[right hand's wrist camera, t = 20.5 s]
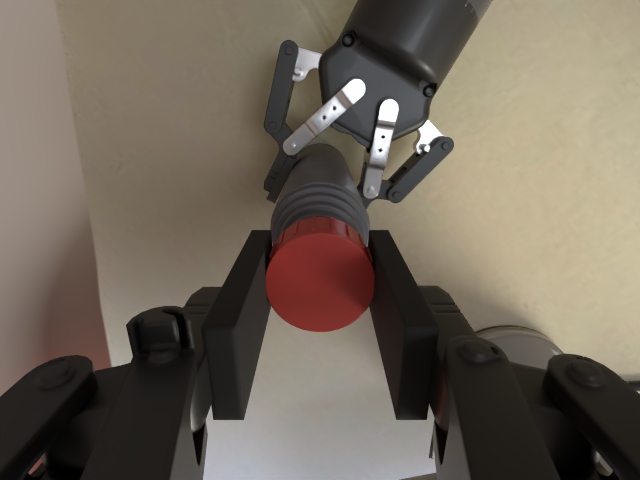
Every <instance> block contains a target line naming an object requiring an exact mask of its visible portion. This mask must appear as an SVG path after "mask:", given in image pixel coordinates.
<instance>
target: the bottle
mask: <svg viewBox="0 0 640 480" xmlns="http://www.w3.org/2000/svg"><path fill="white" fill-rule="evenodd" d="M313 216H315V217H327V218H330V217H332V218H333V219H336V220H339V221H342V222H344V223H348V225H349V226H350V227H352V228H353V229H354V230H355V231H356V232H357V233H358V234H359V233H360V234H361V237H362V239H363V241H364V243H365V245H366V247H367V244H368V238H369V230H370V224H369V218H368V214H367V211H366V209H365V206H364V204H363V202H362V199H361V197H360V195H359V192H358V190H357V188H356V185H355V183H354V180H353V178H352V176H351V173H350V171H349V169H348V166H347V164H346V162H345V159H344V157H343V156H342V154H341V153H340V152H339V151H338V150H337V149H335V148H334V147H332V146H330V145H326V144H314V145H311V146H308V147H307V148H305V149H304V150H302V151H301V152H300V153H299V155H298V159H297V161H296V163H295V165H294V167H293V169H292V171H291V172H290V174H289V176H288V179H287V181H286V184H285V186H284V188H283V191H282V193H281V195H280V198H279V200H278V202H277V205H276V207H275V210H274V212H273V215H272V219H271V233H272V242H273V244H274V243H276V241H277V240H278V238H279V237H280V235H281V234H282V231H283V230H284V231H285V230H286V229H287V228H289V227H290V226H291V225H293V224H295V223H296V221H298V222H299V221H301V220H304V219H308V218H313Z"/></svg>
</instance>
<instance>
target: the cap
mask: <svg viewBox="0 0 640 480" xmlns="http://www.w3.org/2000/svg"><path fill="white" fill-rule="evenodd" d="M269 259H270V260H269V263H268V267H267V270H266V291H267V298H268V300H269V302H270V304H271V306H272V308H273V309H274V310H275V312H276V313H277V314H278V315H279V316H280V317H281V318H282V319H284V320H285V321H286V322H288V323H289V324H291V325H293V326H295V327H297V328H300V329H303V330H307V331H314V332H327V331H333V330H337V329H340V328H343V327H345V326H347V325H349V324H351V323H353V322H354V321H356V320H357V319H358V318H359V317H360V316H361V315H362V314H363V313H364V312H365V311H366V309H367V308H368V307H369V305H370V303H371V301H372V299H373V294H374V278H375V272H374V269H373V265H372V263H373V260H372V257H371V254H370V251H369V248H368V247H366V245H365V243H364V241H363V239H362V237H361V234H360V233H359V234H358V233H357V232H356V231H355V230H354V229H353V228H352V227H350V226H349V225H348V223H344V222H342V221H339V220H336V219H333V218H332V217H330V218H327V217H315V216H313V218H308V219H304V220H301V221H299V222H298V221H296V223H295V224H293V225H291V226H290V227H289V228H287V229H286V230H285V231H284V230H283V231H282V234H281V235H280V237H279V238H278V240H277V241H276V243H274V244H273V247H272V250H271V253H270V256H269Z"/></svg>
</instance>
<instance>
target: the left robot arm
mask: <svg viewBox="0 0 640 480" xmlns="http://www.w3.org/2000/svg"><path fill="white" fill-rule="evenodd" d="M492 1H493V0H358V1H357V3H356V5H355V7H354V9H353V11H352V13H351V15H350V17H349V19H348V21H347V23H346V25H345V27H344V29H343V31H342V33H341V35H340V37H339V38H338V40H337V41H336V43H335V44H334V45H333V46H331V47H330V48H329V49H327V50H326V51H325V52H324V53H323V54H320V53H316V52H313V51H310V50H307V49H303V48H300V47H298V46H297V44H296V43H295V42H293V41H291V40H287V41H284V42H283V43H282V44H281V46H280V51H279V55H278V60H277V65H276V69H275V74H274V79H273V84H272V88H271V93H270V98H269V102H268V107H267V112H266V116H265V121H264V128H265V130H266V131H267V132H268V133H269V134H271V135H272V137H273V138H274V139H275V140H276V141H277V142H278V144H279V154H278V156H277V158H276V160H275V162H274V164H273V166H272V168H271V170H270V172H269V174H268V176H267V178H266V180H265V182H264V189H265V190H267V191H268V192H270V193H269V195H268V197H267V200H269V201H271V202H273V203H275V202H276V200H277V198H278V196H279V194H280V192H281V190H282V188H283V186H284V184H285V182H286V180H287V179H288V176H289V174H290V172H291V171H292V169H293V167H294V165H295V163H296V161H297V159H298V156H297V154H298V152H299V151H300V150H301V149H303V148H304V147H305V146H306V145H307V144H308V143H309V142H310V141H311V140H313V139H314V138H315V137H316V136H318V135H319V134H320V133H321V132H322V131H323V130H324V129H326V128H327V127H328V126H329V125H330V126H331V127H332V128H334V129H336V130H338V131H339V132H342V133H346V134H350V135H352V136H353V137H354V138H355V139H356V140H357V141H358V142H359V143H360V144H362V145H363V146H365V152H364V161H363V168H362V173H361V178H360V183H359V185H358V187H357V190H358V192H359V195H360V197H361V199H362V202H363V204H364V206H365V209H367V207H368V206H369V204H370V203H371V202H372V201H373V200H375V199H384V200H390V201H391V202H393V203H398V202H400V201H402V200H403V199H404V198H405V197H406V196H407V195H408V194H409V193H410V192H411V191H412V190H413V189H414V188H415V187H416V186H417V185H418V184H419V183H420V182H421V181H422V180H423V179H424V178H425V177H426V176H427V175H428V174H429V173H430V172H431V171H432V170H433V169H434V168H435V167H436V166H437V165H438V164H439V163H440V162H441V161H442V160H443V159H444V158H445V157H446V156H447V155H448V154H449V153H450V152H451V151H452V149H453V147H454V142H453V140H452V139H451V138H449V137H447V136H444V135H442V134H441V133H440V132H439V131H438V130H437V128H436V127H435V126H434V125H433V124H432V123H431V122H430V121H429V120H428V117H429V110H430V104H431V101H432V98H433V97H434V95H435V93H436V92H437V90H438V88H439V87H440V85H441V84H442V82H443V80H444V79H445V77H446V75H447V74H448V72H449V71H450V69H451V67H452V66H453V64H454V62H455V61H456V59H457V58H458V56H459V54H460V53H461V51H462V49H463V48H464V46H465V45H466V43H467V41H468V40H469V38H470V36H471V35H472V33H473V31H474V30H475V28H476V27H477V25H478V23H479V22H480V20H481V18H482V17H483V15H484V14H485V12H486V10H487V9H488V7H489V6H490V4H491V2H492ZM314 69H317V70H318V71H319V80H320V88H321V97H322V107H320V108H319V109H318V110H317V111H316V112H315V113H314V114H313V115H312V116H311V117H310V118H308V119H307V120H306V121H305V122H304V123H303V124H302V125H301V126H300V127H299V128H298V129H297V130H295V131H294V132H293V131H292V129H291V128H290V127H289V126H288V125H287V124H286V122H285V121H286V116H287V112H288V108H289V103H290V99H291V95H292V91H293V86H294V82H295V81H296V82H302V81H304V80H305V79H306V77H307V75H308V73H309V72H310V71H311V70H314ZM323 116H324V117H323ZM416 130H417V133H418V136H417V139H416V140H415V142H414V144H413V149H414V151H415V152H414V154H413V155H412V156H411V157H410V158H409V159H408V160H407V161H406V162H405V163H404V164H403V165H402V166H401V167H400V168H399V169H398V170H397V171H396V172H395V173H394V174H393V175H392V176H391V177H390V178H389V179H388V180H382V176H383V171H384V168H385V167H386V163H387V158H388V154H389V149H390V144H391V142H392V141H394V140H396V139H399V138H401V137H403V136H405V135H407V134H409V133H411V132H413V131H416Z"/></svg>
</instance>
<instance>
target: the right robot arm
mask: <svg viewBox="0 0 640 480" xmlns="http://www.w3.org/2000/svg"><path fill="white" fill-rule="evenodd" d="M368 248H369V251H370V254H371V257H372V260H373V263H372V265H373V269H374V272H375V278H374V294H373V299H372V301H371V303H370V305H369V307H370V311H371V316H372V320H373V324H374V328H375V332H376V336H377V341H378V345H379V349H380V353H381V357H382V362H383V366H384V370H385V374H386V378H387V382H388V387H389V391H390V395H391V399H392V403H393V407H394V412H395V416H396V420H427V414H428V407H429V403H430V406H431V409H432V412H433V414H434V417H435V420H434V427H433V433H432V440H431V447H430V454H429V458H433V459H434V454H435V463H436V472H437V473H432V474H427V475H422V476H417V477H411V478H406V479H401V480H640V394H639V393H638V392H637V391H640V382H639V383H626V382H625V381H624V380H623V379H622V378H620V377H619V376H618V375H617V374H616V373H614V372H613V371H612V370H610V369H609V368H607V367H606V366H604V365H602V364H600V363H598V362H596V361H594V360H592V359H590V358H587V357H582V356H579V355H573V354H564V353H563V352H562V351H561V350H560V349H559V348H558V347H557V346H556V345H555V344H554V343H553V342H552V341H551V340H550V339H549V338H547V337H546V336H544V335H542V334H541V333H539V332H536V331H534V330H531V329H527V328H522V327H511V326H507V327H496V328H491V329H486V330H483V331H480V332H477V333H475V332H474V331H473V329H472V328H471V326H470V325H469V323H468V322H467V320H466V319H465V317H464V316H463V314H462V313H460V310H459V308H458V307H457V305H455V302H454V301H453V299H452V298H451V296H450V295H449V294H448V293H447V292H445V291H444V290H442V289H441V288H440V287H438V286H417V284H416V282H415V280H414V278H413V276H412V274H411V273H410V271H409V269H408V267H407V265H406V263H405V261H404V259H403V257H402V255H401V254H400V252H399V250H398V248H397V246H396V244H395V242H394V240H393V238H392V237H391V235H390V233H389V231H388V230H369V238H368ZM271 250H272V233H271V230H252V231H251V233H250V235H249V237H248V239H247V241H246V243H245V245H244V246H243V248H242V250H241V252H240V254H239V256H238V258H237V260H236V262H235V264H234V265H233V267H232V269H231V271H230V273H229V275H228V277H227V279H226V281H225V282H224V284H223V286H222V287H203V288H201V289H200V290H198V291H197V292H195V293H194V294H192V295H191V297H190V298H189V300H188V301H187V303H186V304H185V306H184V307H183V308H181V307H177V306H163V307H157V308H152V309H150V310H147V311H144V312H142V313H140V314H138V315H137V316H135V317H133V318H132V319H131V320H130V321H129V322H128V324H127V325H126V327H127V332H128V336H129V340H130V345H131V349H132V354H133V358H132V360H131V363H128V364H125V365H121V366H116V367H112V368H107V369H102V370H97V371H95V370H94V367H93V363H92V361H91V360H90V359H88V358H87V357H84V356H79V355H74V356H64V357H60V358H56V359H53V360H50V361H48V362H46V363H44V364H42V365H40V366H38V367H36V368H35V369H33V370H32V371H30V372H29V373H27V374H26V375H25V376H24V377H23V378H21V379H20V380H19V381H18V382H17V383H16V384H14V385H13V386H12V387H11V388H10V389H9V390H8V391H6V392H5V393H4V394H3V395H2V396H1V397H0V480H203V473H204V464H205V455H206V445H207V436H208V434H207V427H206V417H207V414H208V411H209V409H210V406H211V405H212V412H213V420H244V417H245V413H246V408H247V404H248V400H249V396H250V392H251V388H252V383H253V379H254V375H255V371H256V367H257V362H258V358H259V354H260V350H261V346H262V342H263V337H264V333H265V329H266V325H267V321H268V316H269V312H270V308H271V304H270V302H269V300H268V298H267V291H266V270H267V267H268V263H269V260H270V259H269V256H270V253H271ZM40 458H41V460H42V463H41V464H40V466H39V467H38V468H37V469H36V470H35V471H34V472H33V473H32V474H31V475H29V473H28V472H29V471H30V469H31V468H32V467H33V466H34V465H35V463H36V462H37V461H38V460H39V459H40Z"/></svg>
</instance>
